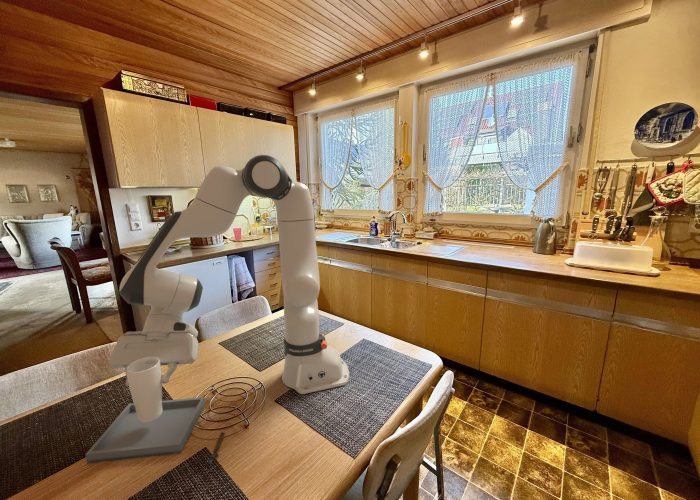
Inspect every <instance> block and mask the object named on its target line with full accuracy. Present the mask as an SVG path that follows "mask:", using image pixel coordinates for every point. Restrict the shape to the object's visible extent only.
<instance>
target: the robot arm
mask: <svg viewBox="0 0 700 500" xmlns="http://www.w3.org/2000/svg"><path fill="white" fill-rule="evenodd" d="M249 196H253V197H258V198H262V199H267V198H268V199H271V200H272V202H273V203H274V206H275V210H276V219H277V221H276V223H277V233H278V234H277V235H278V244H279V245H278V246H279V257H280V258H279V259H280V271H281V273H280V274H281V285H282V292H283V317H284V318H283V320H284V323H283V324H284V337H283V354H284V365H283V371H282V375H281V381H282V383H283V384H284V386H287V387H289V388H291V389H294V390H295V391H296V392H297V393H298V394H299V395H300V394H301V395H305V394H310V393H313V392H320V391H323V390H327V389H332V388H337V387H341V386H345V385H347V384H348V381H349V378H350V371H349V367H348V364H347V362H345V360H343V359H342V357H341V354H340V353H339V351H338V350H337V349H336V348H334V347H332V346H330V345H329V344H328V343H327V341H326V336H325V335H324V333H323V332H322V334H321V333H320V316H319V305H318V304H319V303H318V298H319V294H320V291H321V281H320V280H321V278H320V270H319V269H320V268H319V267H320V266H319V259H318V258H319V257H318V250H317V241H316V240H317V239H316V224H315V211H314V206H313V205H314V204H313V199H312V195H311V190H310V189H309V187H308V186H307V184H305V183H303V182H300V181H296V180H295V181H294V180H293V181H292V178H291V177H290V176H289V174H288V172H287V170H286V169H285V166H283V163H281V162H280V161H279V160H278V159H276V158H275V157H273V156H271V155H267V154H259V155H256V156H255V155H254V156H253V157H252V158H250V159H249V161H247V163H246V164H245V166H244V167H243V168H242V169H235V168H233V167H230V166H227V165H217V166H214V167H212V168H211V170H210V171H209V172H208V174H206V176H205V177H204V179H203V181H202V183H201V184H200V186H199V188H198V190H197V192H196V194H195V196H194V198H193V201H192V202H191V203H190V205H189V206H187V207H186V208H185V209H183V210H180V211H174V212H173V213H172V214H171V215H170V216H169V217H167V219H166V220H165V221H164V223H163V224H162V225H161V227H160V228H159V229H158V231H157V232H156V234H155V235H154V237H153V238H152V239H151V241H150V242H149V243H148V245H147V247H146V248H145V250H144V251H143V252H142V254H140V257H139V258H138V260H137V261H136V262H135V263H134V265H133V266H132V267H131V268H130V269H129V270H128V271H127V272H126V274H124V276H123V277H122V279H121V281H120V284H119V289H118V293H119V295H120V297H122V299H123V300H124V301H125V302H126V303H127V304H129V305H137V306H138V305H139V306H150V307H151V309H150V310H149V313H148V315H147V317H146V320H145V322H144V325H143V328H142V330H139V331H137V330H136V331H127V332H125V333H123V334H121V335H120V336H119V337H118V339H117V341H116V345H115V346H114V348H113V350H112V353H111V354H110V356H109V358H108V362H107V363H108V364H109V366H110V367H111V368H115V369H124V373H125V377H126V380H125V386H127V387H129V384H128V378H127V367H128V366H129V365H130V364H131V363H132V362H134V361H136V360H138V359H141V358H145V357H157V358H159V360H160V365H161V367H162V366H167V368H168V370H167V371H166V372H165V373H164V374H162V375H161V380H160V383H162V384H168V383H169V382H170V378H171V376H172V375H173V374H174V373H175V372H176V370H177V368H178V365H188V364H189V365H191V364H194V363H195V361H196V360H197V358H198V357H197V356H198V351H199V341H198V339H197V337H198V336H199V331H198V330H197V329H196V328H195V327H194V326H193V325H192V324H190V323H188V322H183V320H184V317H183V316H184V313H187V312H189V311H191V310H193V309H195V308H197V307H198V306H199V304H200V303H201V298H202V293H203V289H204V287H203V284H202V282H201V281H200V280H199V278H197V277H194V276H190V275H186V274H183V273H177V272H173V271H168V270H164V269H160V268H158V267H157V265H158V264H159V262H160V261H161V260H162V258H163V256H165V254H166V252H167V251H168V250H169V248H170V247H171V245H172V244H174V242H176V241H178V240H182V239H188V238H210V237H211V238H212V237H217V236H220V235H223V234H225V233H226V232H227V231H228V230H230V228H231V227H232V224H233V223H234V221H235V219H236V217H237V214H238V212H239V210H240V206H241V205H242V203H243V201H244V200H245V199H246V198H247V197H249ZM155 363H156V361H154V360H148V361H146V362H144V364H155Z"/></svg>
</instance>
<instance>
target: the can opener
mask: <svg viewBox="0 0 700 500" xmlns="http://www.w3.org/2000/svg"><path fill="white" fill-rule="evenodd" d="M224 438H225V432H224V431H222V432H220V434H219V436H218V439H217V441H216V444H215V447H214V448H213V449H214V450H213V453H212V454H211V455H210V456H209V457H210V458H209V457H208V458H209V460H208V466H212V465H213V462H214V461H215V458H216V459H218V457H219V450H220V447H221V445H222V443H223V441H224Z"/></svg>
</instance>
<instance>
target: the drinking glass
mask: <svg viewBox="0 0 700 500" xmlns="http://www.w3.org/2000/svg"><path fill="white" fill-rule="evenodd" d="M148 360H154V361H156V363H155V364H144V362H146V361H148ZM161 375H163V373H162V366H161V365H160V360H159V358H157V357H145V358H141V359H138V360H136V361H134V362H132V363H131V364H130V365H129V366H128V367H127V376H126V379H127V378H128V384H129V386H128V388H129V392H130V395H131V398H132V402H133V403H134V406H135V409H136V413H137V419H138V421H139V422H141V423H148V422H151V421H154V420H155V419H157V418H158V417H159V416H160V415H161V414H162V411H163V408H162V401H163V383H160V380H161Z"/></svg>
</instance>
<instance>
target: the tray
mask: <svg viewBox="0 0 700 500" xmlns="http://www.w3.org/2000/svg"><path fill="white" fill-rule="evenodd" d="M205 406H206V398H205V396H202V397H193V398H192V397H191V398H189V397H188V398H179V399H178V398H177V399H167V400H162V408H163V411H162V414H161V415H160V416H159V417H158V418H157V419H155V420H154V421H151V422H148V423H141V422H139V421H138V419H137V413H136V409H135V406H134V402H133V403H128V405H127V406H126V407H125V408H124V409H123V410H122V412H120V414H118V416H117V417H116V418H115V420H114V421H113V422H112V423H111V424H110V425H109V427H107V429H106V430H105V431H104V432H103V433H102V434H101V435H100V437H99V438H97V440H96V441H95V443H94V444H93V445H92V446H91V447H90V449H89V450H88V451H87V452H86V453H85V454H84V456H85V459H86V464H87V465H88V464H89V465H90V464H96V463H98V464H99V463H107V462H115V461H116V462H117V461H124V460H125V461H126V460H133V459H134V460H135V459H143V458H144V459H145V458H150V457H159V456H160V457H161V456H169V455H170V456H171V455H178V454H182V453H183V450H184V449H185V446H186V445H187V442H188V441H189V438H190V437H191V435H192V433H193V430H194V428H195V427H196V425H197V423H198V421H199V418H200V416H201V414H202V413H203V410H204V408H205Z"/></svg>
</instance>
